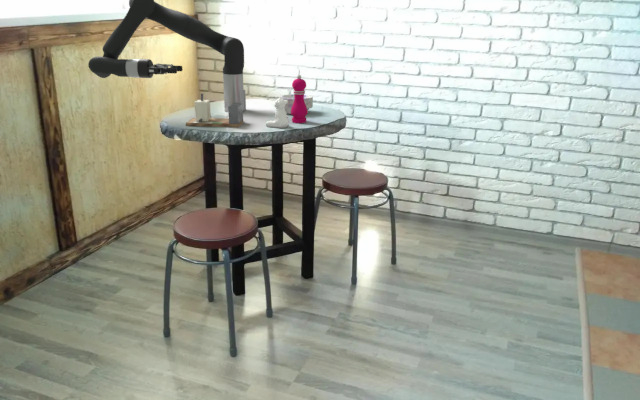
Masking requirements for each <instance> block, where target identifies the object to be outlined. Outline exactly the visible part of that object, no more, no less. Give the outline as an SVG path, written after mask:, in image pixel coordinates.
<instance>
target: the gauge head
mask: <svg viewBox="0 0 640 400" xmlns="http://www.w3.org/2000/svg"><path fill="white" fill-rule="evenodd" d="M194 114H195V115H194V118H196V121H199V122H201V121H209V120H210V119H211V118H212V117H211V116H212V114H211V99H204V93H200V99H197V100H195V101H194Z"/></svg>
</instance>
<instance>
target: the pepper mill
mask: <svg viewBox="0 0 640 400" xmlns="http://www.w3.org/2000/svg"><path fill="white" fill-rule="evenodd" d="M291 87H292V88H293V93H292V94H294V96H295V99H294V103H293V105H292V108H291V114H290V115H291V116H292V117H291V123H294V124H305V123H307V117H306V116H307V115H308V112H309V111H308V112H307V107H306V105H305V102H304V95H306V88H307V81H306V80H305V79H303V78H302V75H301V74H298V75H297V76H296V78H295V79H294V80H293V81H292V84H291Z"/></svg>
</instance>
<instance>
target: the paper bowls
mask: <svg viewBox="0 0 640 400" xmlns="http://www.w3.org/2000/svg"><path fill="white" fill-rule="evenodd" d="M279 98H283V99H284V101H285V100H288V103H286V105H285V108H284V110H285V111H286V113H287V114H288V115H292V114H291V108H292V105H293V103H294V99H295V96H294V94H293V93H292V94H291V93H290V94H282V95H280V96H279ZM313 100H314V99H313V96H312V95H309V94H304V102H305V105H306V107H307V112H309V110H310V109H312V108H313V105H314V104H313Z"/></svg>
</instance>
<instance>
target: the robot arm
mask: <svg viewBox="0 0 640 400" xmlns="http://www.w3.org/2000/svg"><path fill="white" fill-rule="evenodd" d="M128 5H129V9H128V11H127V13H126V15H125V16H124V18H123V19H122V20H121V21H120V23H119V24H118V25H117V27H116V28H115V29H114V30H113V31H112V32H111V34H110V36H109V37H108V39H107V40H106V41H105V43H104V44H103V46H102V52H103V54H102V56H101V55H100V56H94V57H92V58H90V59H89V61H88V66H87V67H88V68H89V70H90V71H91V72H92V73H93V74H94V75H96V76H98V78H101V79H107V78H108V77H110V76H111V75H114V76H117V77H123V78H125V77H126V78H134V79H135V78H137V79H152V78H153V77H154V75H167V74H177V73H178V72H182V71H183V65H174V64H173V63H172V64H170V63H169V64H167V63H155V64H154V62H153V61H152V60H151V59H149V58H147V59H146V58H132V59H131V58H130V59H126V58H125V59H124V58H119V57H120V55H121V54H122V53H123V51H124V49H125V48H126V47H127V45H128V44H129V42H130V40H131V38H132V37H133V36H134V34H135V32H136V30H138V28H139V27H140V25H141V24H142V23H143V21H144V20H146V19H148V20H150V21H152V22H156V23H158V24H160V25H161V26H163V27H165V28H167V29H169V30H170V31H172V32H174V33H176V34H178V35H180V36H181V37H184V38H186V39H189V40H190V41H192V42H196V43H199V44H201V45H204V46H206V47H207V46H208V47H210V48H211V49H213V50H215V51H217V52H218V53H219V54H221V55H223V57H224V59H223V60H224V62H223V63H224V65H223V67H222V80H223V81H222V82H223V83H222V84H223V100H224V101H223V102H224V103H223V104H224V106H223V107H224V111H225V112H228V107H229V106H230V105H231V104H232V103H243V112H244V111H247V101H246V100H247V99H246V96H247V95H246V90H245V88H244V68H245V47H244V44H243V42H242V40H240V39H239V38H236V37H233V36H228V35H225V34H223V33H220V32H217V31H215V30H213V29H212V28H211V27H209V26H208V25H206V24H205V23H204V22H202V21H201V20H199V19H197V18H196V17H194V16H191V15H189V14H187V13H184V12H181V11H179V10H175V9H173V8H168V7H166V6H163V5H162V4H160V3H158V2H156V1H155V0H128Z"/></svg>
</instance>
